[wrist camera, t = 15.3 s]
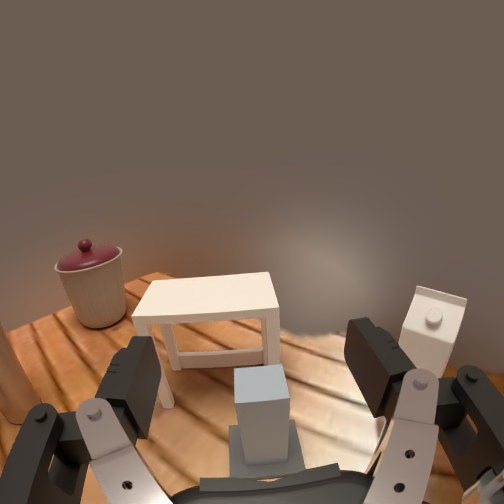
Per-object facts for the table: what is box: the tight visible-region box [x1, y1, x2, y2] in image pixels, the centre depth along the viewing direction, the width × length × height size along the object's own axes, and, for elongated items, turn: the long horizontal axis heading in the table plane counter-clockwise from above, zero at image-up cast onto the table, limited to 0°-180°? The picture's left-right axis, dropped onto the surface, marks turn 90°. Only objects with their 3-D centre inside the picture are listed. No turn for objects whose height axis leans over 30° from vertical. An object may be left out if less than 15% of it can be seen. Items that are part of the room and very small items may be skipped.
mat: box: [229, 420, 305, 480], centre depth 30 cm, size 9×9×1 cm
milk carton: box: [398, 286, 467, 378], centre depth 31 cm, size 7×7×19 cm
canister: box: [54, 239, 126, 328], centre depth 61 cm, size 18×18×21 cm
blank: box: [234, 364, 290, 466], centre depth 27 cm, size 5×5×13 cm
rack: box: [131, 272, 280, 409], centre depth 40 cm, size 11×18×17 cm, turn 94°
